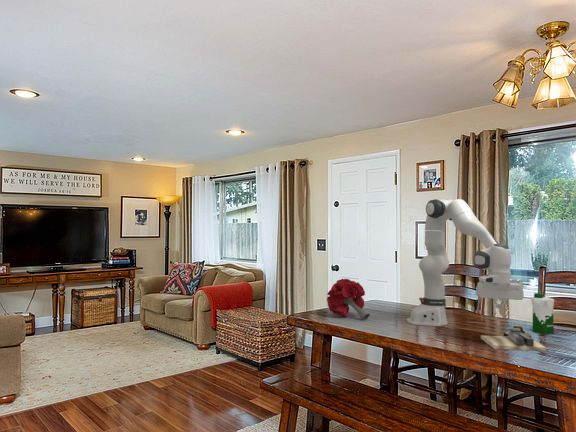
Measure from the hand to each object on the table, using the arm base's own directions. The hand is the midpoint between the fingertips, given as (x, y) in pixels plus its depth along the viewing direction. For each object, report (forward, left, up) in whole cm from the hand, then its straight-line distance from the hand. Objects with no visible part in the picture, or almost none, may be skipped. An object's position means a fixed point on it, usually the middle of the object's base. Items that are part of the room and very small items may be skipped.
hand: (499, 308), depth 195 cm
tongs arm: (+7, -2, -15) cm, 16 cm away
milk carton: (+32, +27, -17) cm, 45 cm away
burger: (+15, +16, -17) cm, 28 cm away
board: (+6, 0, -17) cm, 17 cm away
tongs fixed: (+9, 0, -15) cm, 17 cm away
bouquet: (-69, +49, -17) cm, 87 cm away
